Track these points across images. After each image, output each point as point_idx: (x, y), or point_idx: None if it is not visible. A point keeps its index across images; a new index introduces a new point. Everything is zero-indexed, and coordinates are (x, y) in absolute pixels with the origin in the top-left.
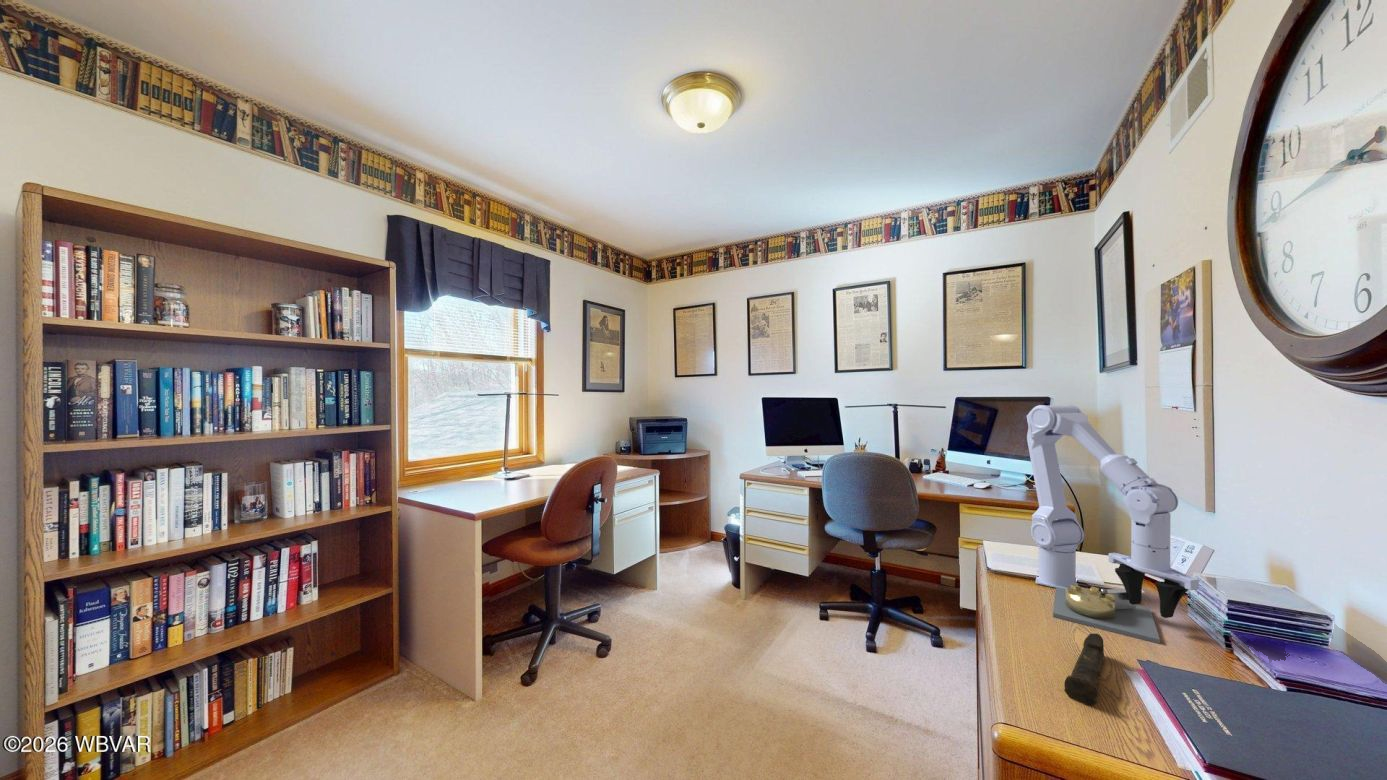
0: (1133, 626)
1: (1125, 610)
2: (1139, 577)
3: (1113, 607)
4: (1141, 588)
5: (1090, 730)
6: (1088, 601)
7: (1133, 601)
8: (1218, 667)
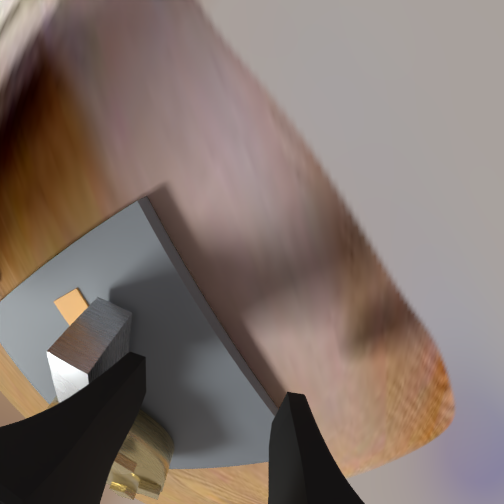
0: (227, 440)
1: (129, 346)
2: (71, 489)
3: (163, 468)
4: (99, 410)
5: None
6: (136, 492)
7: (140, 403)
8: (415, 432)
